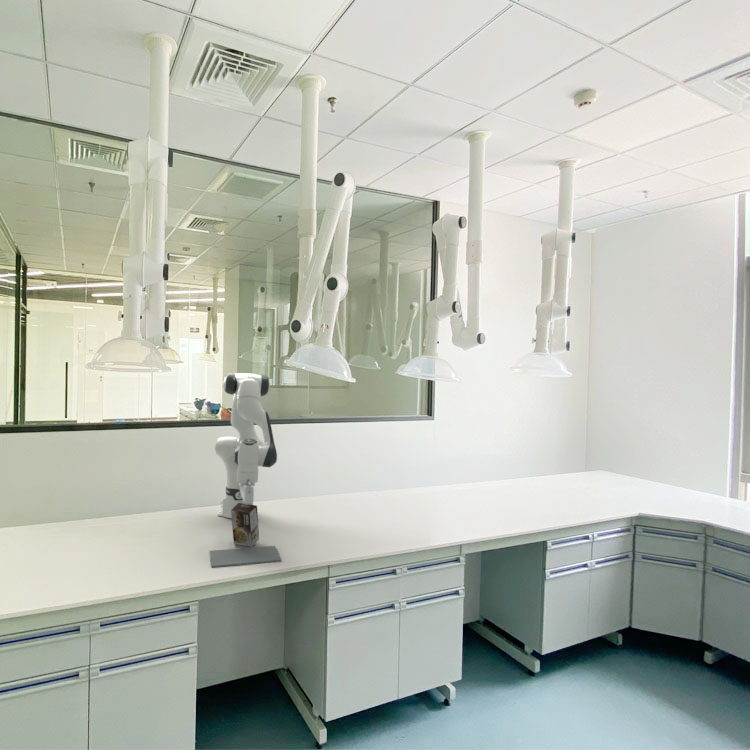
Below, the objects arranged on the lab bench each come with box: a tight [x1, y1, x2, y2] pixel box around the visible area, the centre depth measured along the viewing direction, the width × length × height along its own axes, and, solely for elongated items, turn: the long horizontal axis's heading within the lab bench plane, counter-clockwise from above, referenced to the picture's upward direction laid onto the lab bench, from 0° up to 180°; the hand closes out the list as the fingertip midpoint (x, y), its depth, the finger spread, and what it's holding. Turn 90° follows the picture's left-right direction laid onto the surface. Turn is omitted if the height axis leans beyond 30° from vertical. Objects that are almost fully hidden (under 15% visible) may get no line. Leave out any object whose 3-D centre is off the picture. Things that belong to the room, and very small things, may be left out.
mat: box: [209, 545, 282, 568], centre depth 204 cm, size 16×26×1 cm, turn 110°
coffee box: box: [231, 503, 260, 548], centre depth 216 cm, size 9×6×16 cm
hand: (246, 510), depth 220 cm, fingers closed
